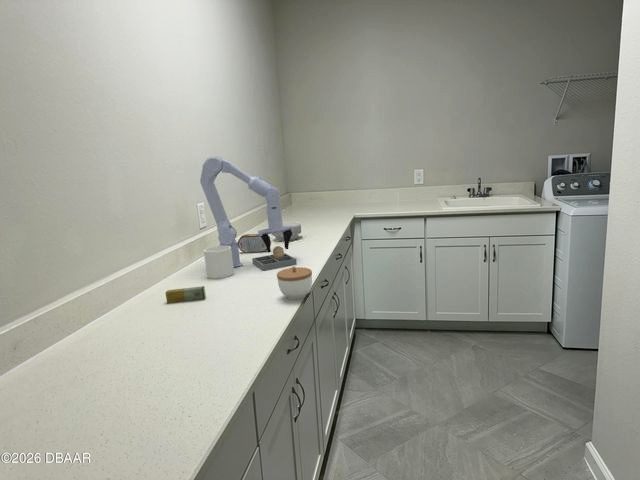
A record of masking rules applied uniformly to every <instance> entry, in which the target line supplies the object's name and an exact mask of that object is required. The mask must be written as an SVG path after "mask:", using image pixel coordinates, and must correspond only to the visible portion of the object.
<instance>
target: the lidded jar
mask: <svg viewBox="0 0 640 480" xmlns="http://www.w3.org/2000/svg"><path fill="white" fill-rule="evenodd" d="M312 275H313V271H312V269H311V268H307V267H300V266H299V267H298V266H297V267H296V266H292V267H288V268H284V269H282V270H279V271H278V272H277V273H276V277H277V283H278V284H277V285H278V288H279V291H280V293H281V294H282V295H283V296H285V297H286V299H288V300H292V301H293V300H294V301H295V300H302V299H304V298H306V297H307V295H308V294H309V293H310V291H311V289H312V285H313V284H312V283H313V276H312Z"/></svg>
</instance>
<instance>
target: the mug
mask: <svg viewBox="0 0 640 480" xmlns="http://www.w3.org/2000/svg"><path fill="white" fill-rule="evenodd" d="M203 256H204V263H205V270H206V277H207V279H210V278H211V280H220V279H225V278H226V279H227V278H230V277H231V276H233V275H234V273H235V269H234V268H235V267H233V259H232V251H231V247H230V246H220V245H216V246H210V247H207V248H204V249H203Z"/></svg>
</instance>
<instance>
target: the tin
mask: <svg viewBox="0 0 640 480" xmlns="http://www.w3.org/2000/svg"><path fill="white" fill-rule="evenodd" d="M237 242H238V249H239V250H240V251H241V252H242V253H244V254H253V253H254V254H255V253H256V254H257V253H265V252H267V248H266V245H265V243H264V241H263V239H262V238H261V236H259V235H258V233H251V234H250V233H247V234H243V235H241V236H240V237H239V239H238V241H237ZM271 245H272V241H271V239H270V247H271Z"/></svg>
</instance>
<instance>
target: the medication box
mask: <svg viewBox="0 0 640 480" xmlns="http://www.w3.org/2000/svg"><path fill="white" fill-rule="evenodd" d="M164 294H165V297H166V298H165V300H166V304H176V303H187V302H197V301H204V300H206V299H207V295H206V289H205V285H202V286H195V287H194V286H192V287H185V288H176V289H167V290H166V291H165V293H164Z"/></svg>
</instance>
